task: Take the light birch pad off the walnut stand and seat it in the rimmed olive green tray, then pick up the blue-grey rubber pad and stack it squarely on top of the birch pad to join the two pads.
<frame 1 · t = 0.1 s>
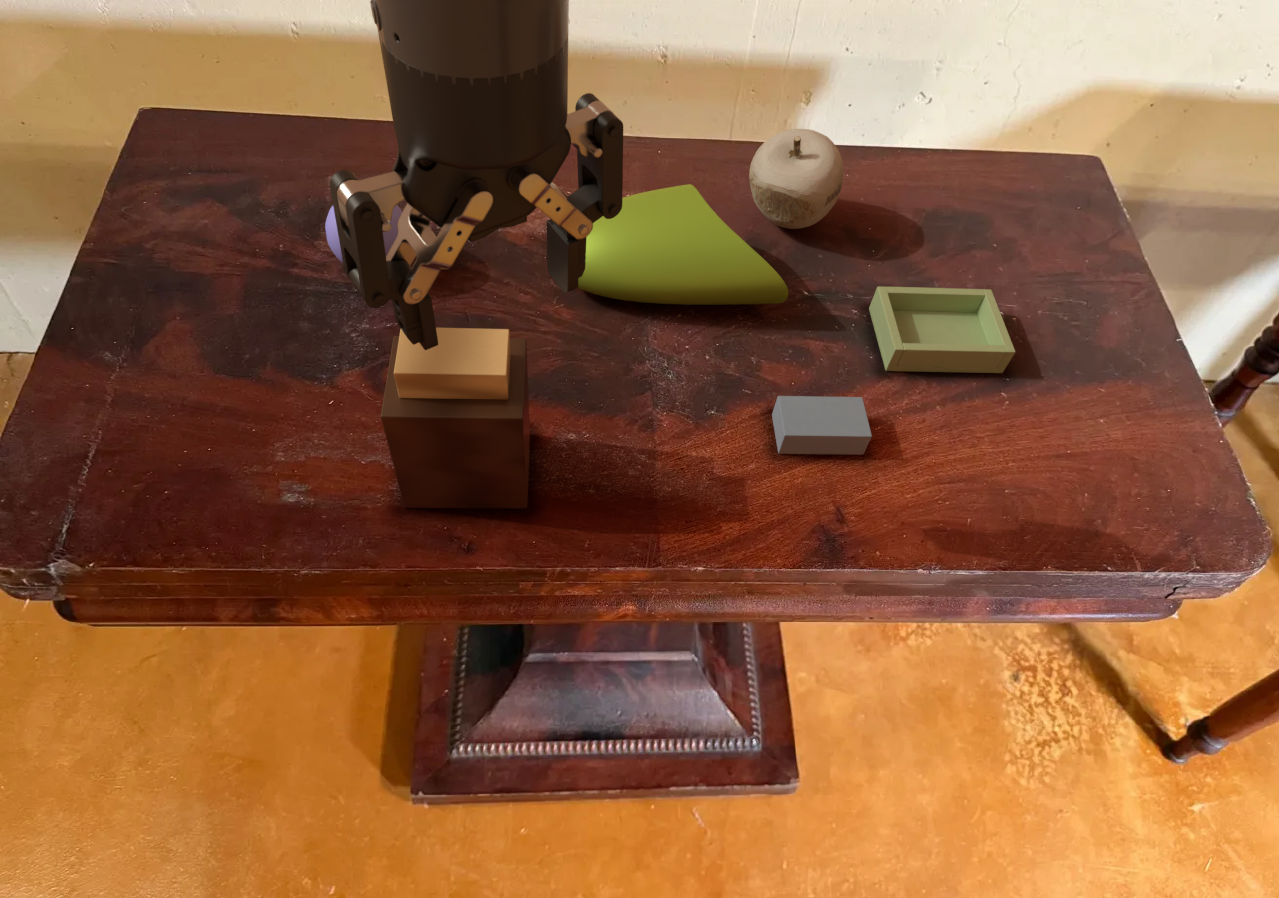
hand: (495, 308, 48), 21 cm above the table, tool pointing down, fingers open, 8 cm apart
olive green tray: (934, 340, 80), on the table
decorative object: (784, 221, 88), on the table
sphere: (374, 263, 80), on the table
rubber pad: (816, 434, 72), on the table
birch pad: (456, 375, 59), point 11 cm above the table, touching stand
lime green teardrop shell: (658, 283, 81), on the table
stand: (469, 469, 68), on the table
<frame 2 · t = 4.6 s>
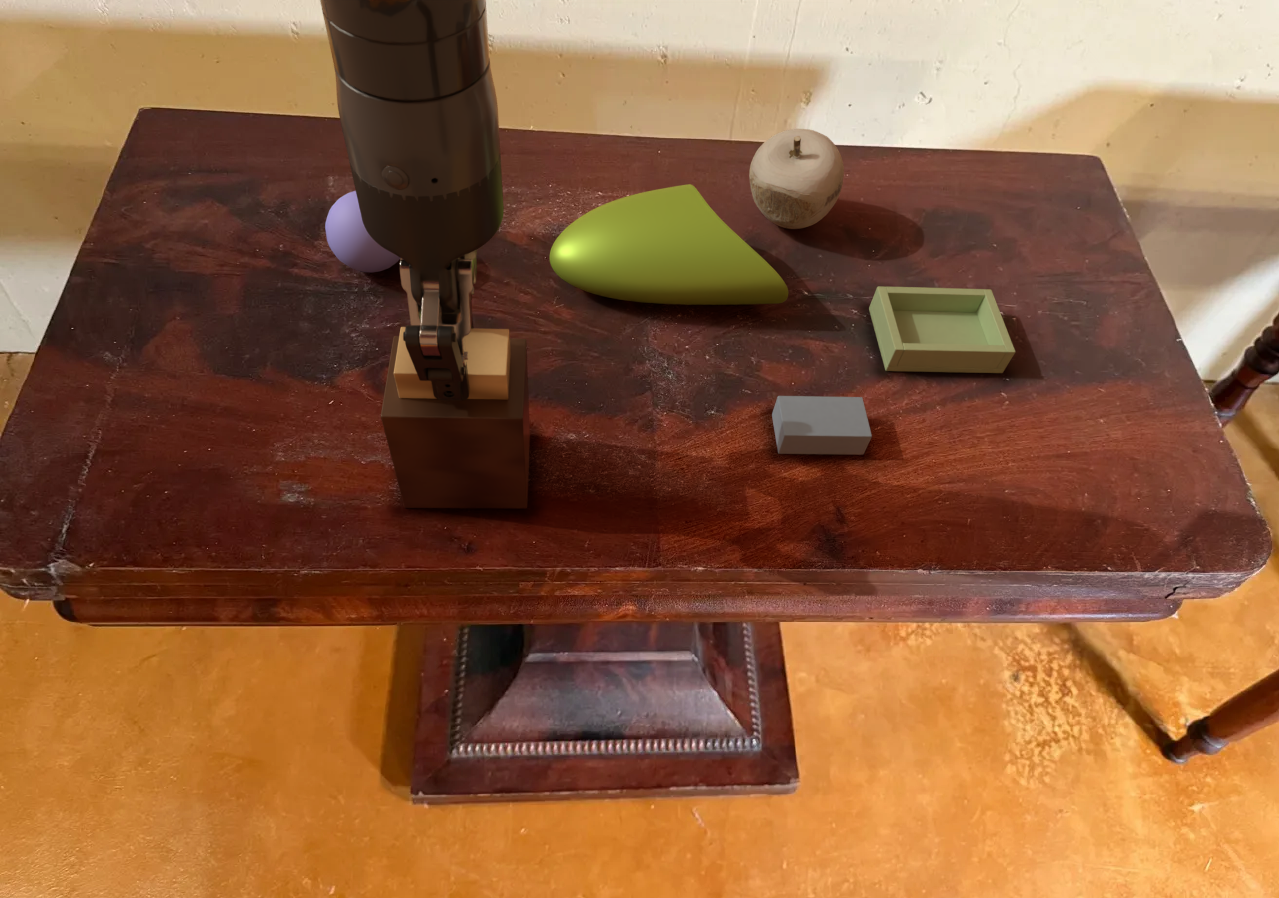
hand: (455, 367, 58), 12 cm above the table, tool pointing down, fingers closed on birch pad, 4 cm apart
birch pad: (456, 375, 59), point 11 cm above the table, touching gripper, stand
everything else where it was.
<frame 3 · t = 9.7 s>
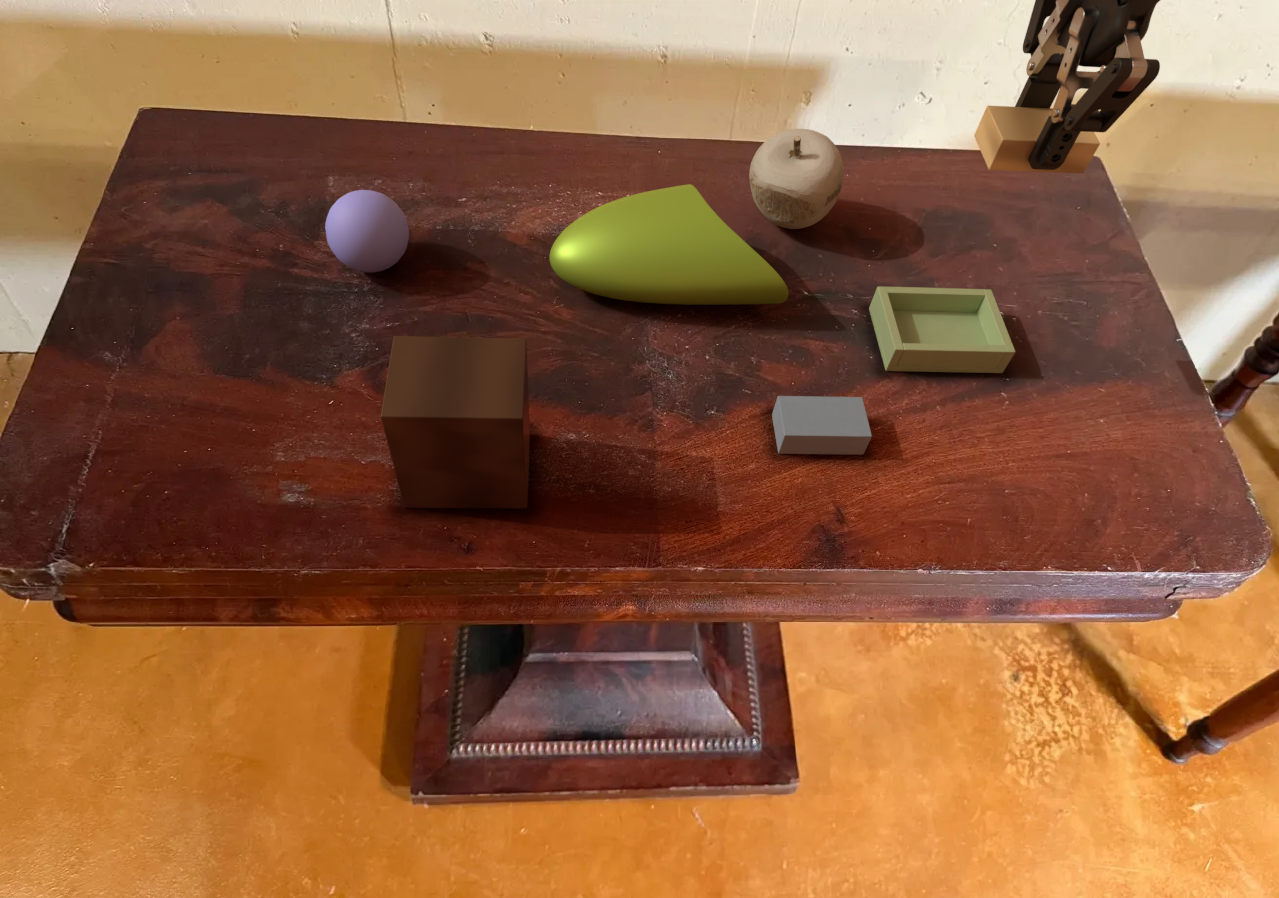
hand: (1032, 145, 63), 20 cm above the table, tool pointing down, fingers closed on birch pad, 4 cm apart
birch pad: (1027, 154, 64), point 20 cm above the table, touching gripper
everything else where it was.
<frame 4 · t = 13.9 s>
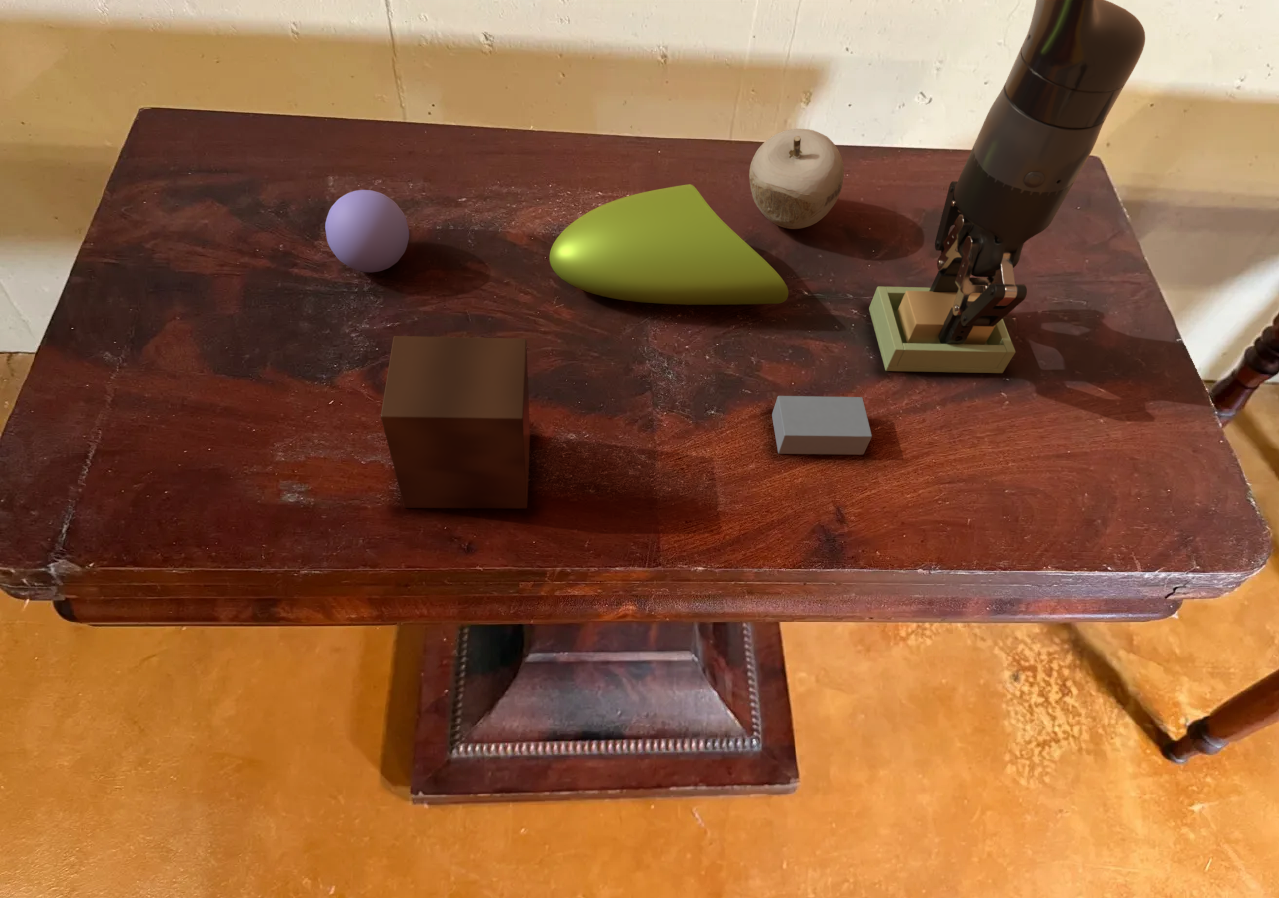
hand: (943, 321, 78), 2 cm above the table, tool pointing down, fingers closed on birch pad, 4 cm apart
birch pad: (940, 327, 78), point 2 cm above the table, touching gripper
everything else where it was.
when the fingers open (3 cm above the table, at t = 16.2 s): birch pad stays where it is, resting on olive green tray.
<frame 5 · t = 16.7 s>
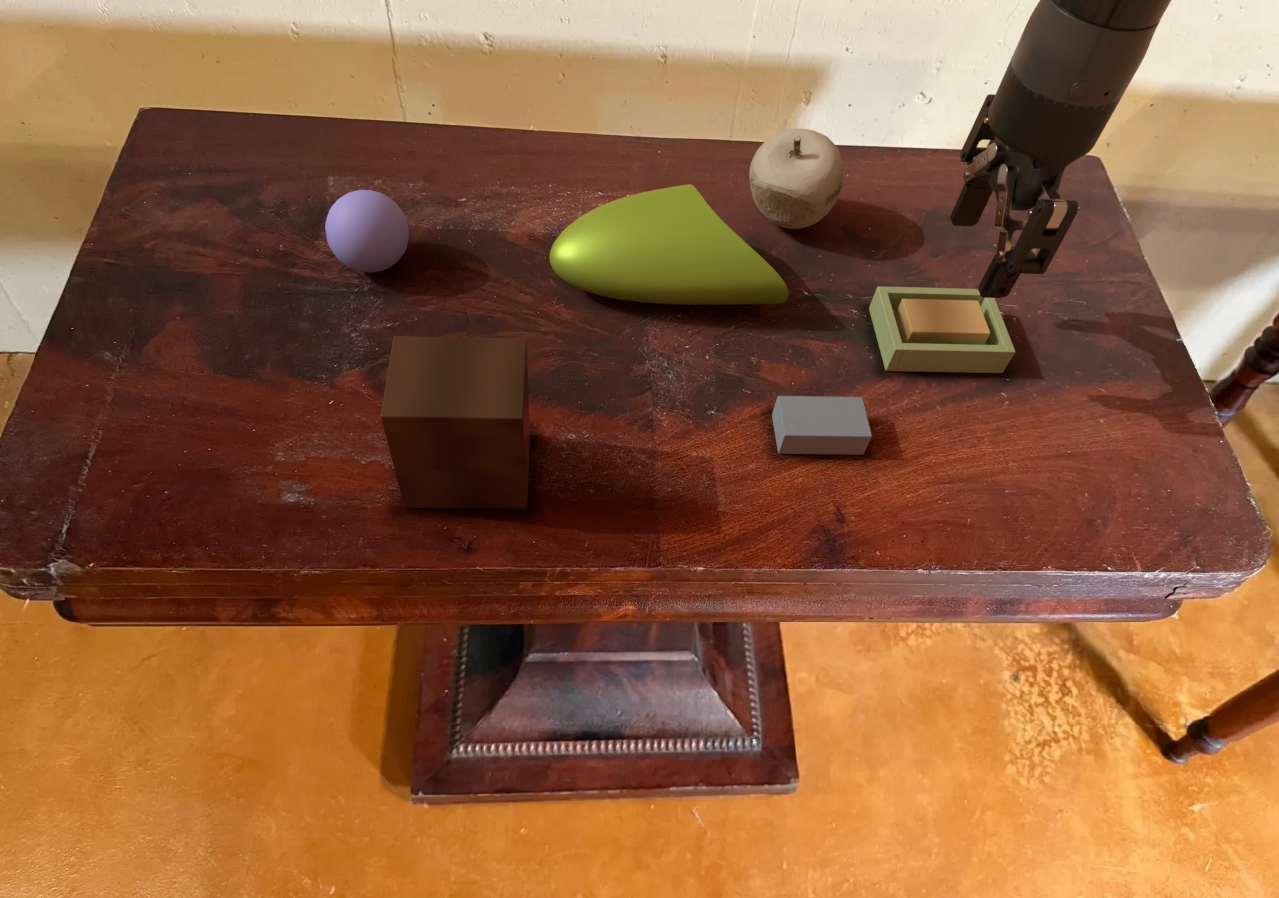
hand: (975, 257, 72), 10 cm above the table, tool pointing down, fingers open, 8 cm apart
birch pad: (935, 335, 79), point 1 cm above the table, touching olive green tray
everything else where it was.
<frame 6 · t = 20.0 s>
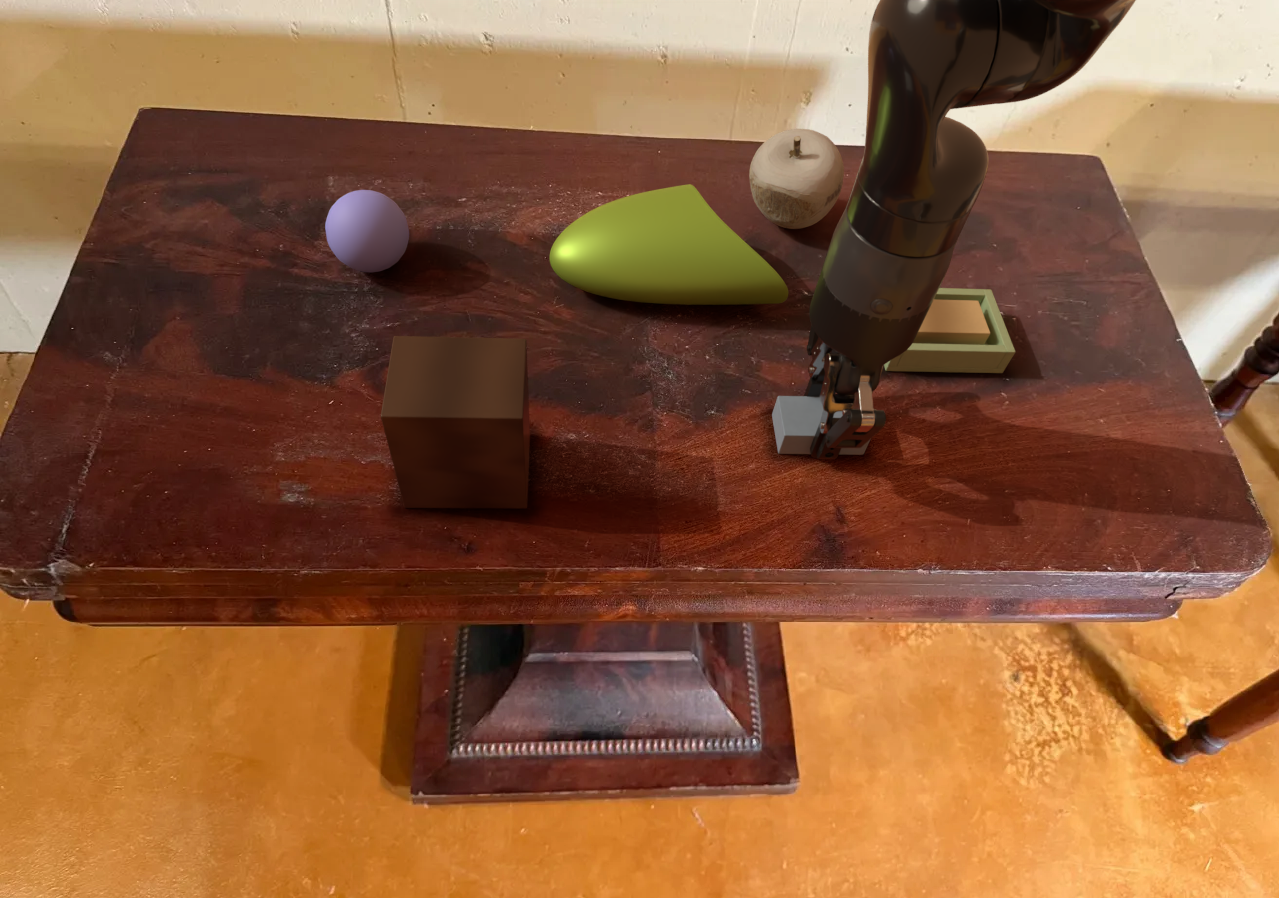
hand: (818, 430, 72), 0 cm above the table, tool pointing down, fingers closed on rubber pad, 4 cm apart
rubber pad: (816, 434, 72), on the table, touching gripper
everything else where it was.
when the fingers open (4 cm above the table, at t = 25.6 s): rubber pad stays where it is, resting on birch pad.
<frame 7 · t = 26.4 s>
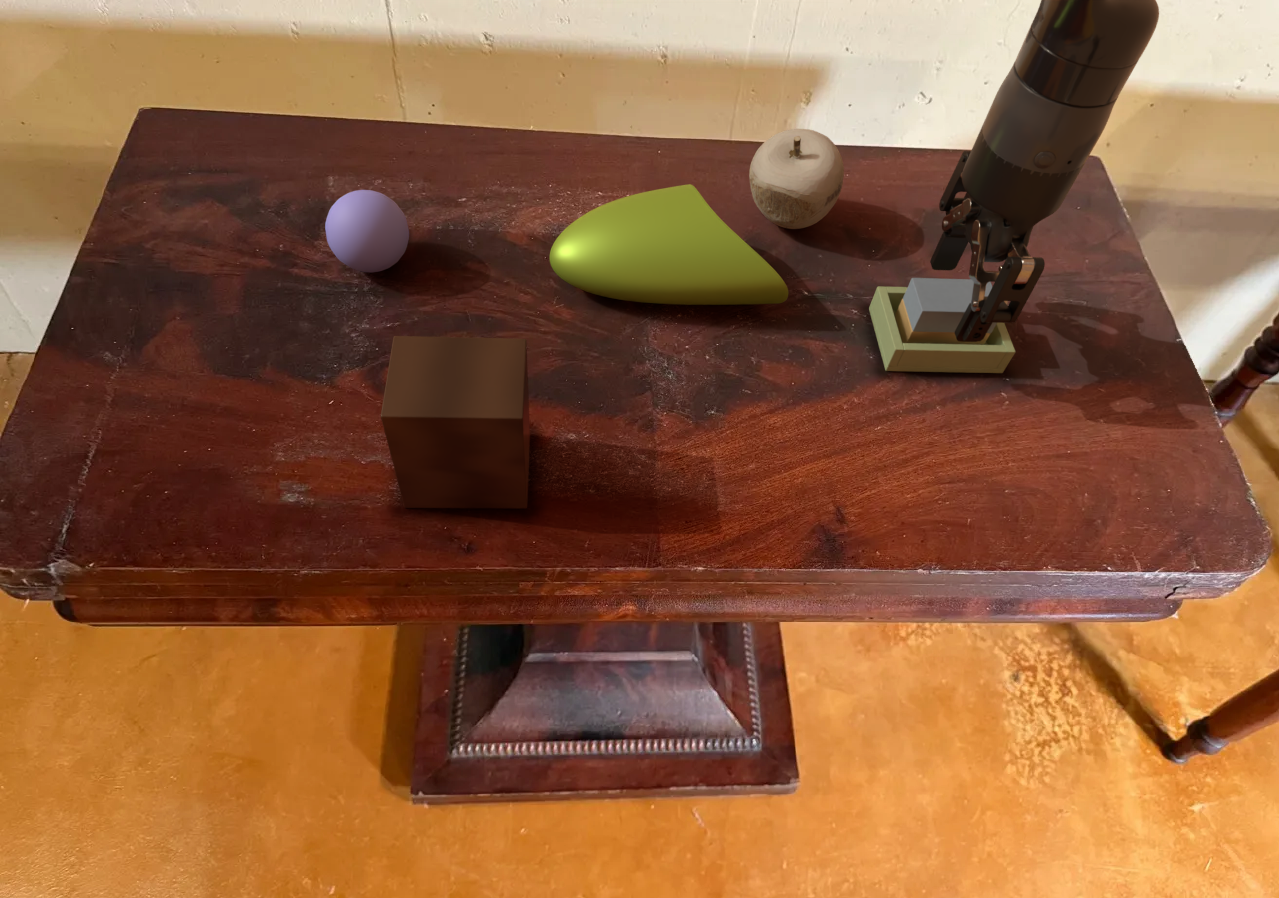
hand: (953, 301, 76), 5 cm above the table, tool pointing down, fingers open, 8 cm apart
rubber pad: (946, 315, 77), point 3 cm above the table, touching birch pad
birch pad: (935, 335, 79), point 1 cm above the table, touching olive green tray, rubber pad
everything else where it was.
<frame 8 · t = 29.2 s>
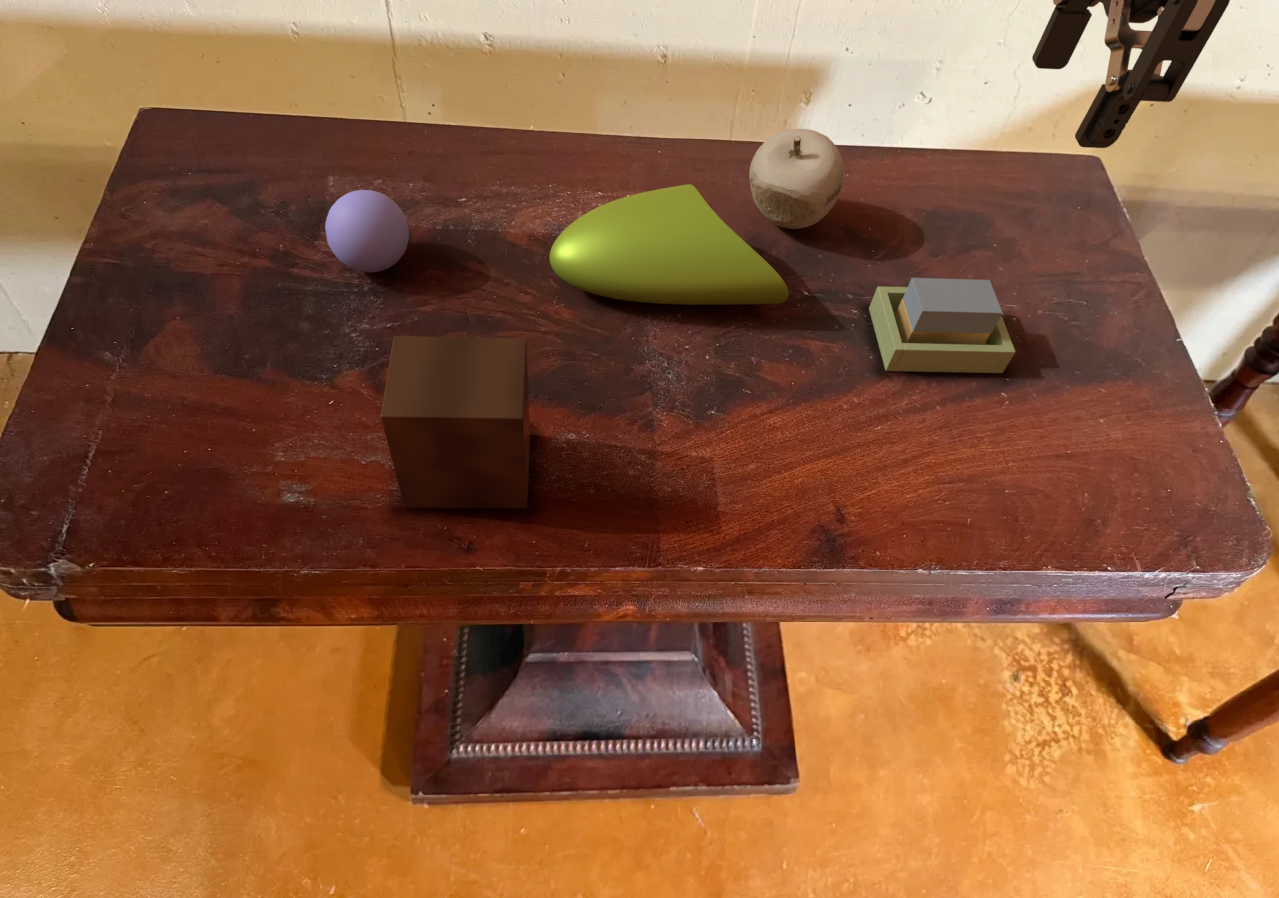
hand: (1068, 103, 56), 26 cm above the table, tool pointing down, fingers open, 8 cm apart
nothing on the table moved.
at the end: birch pad 0.0 cm off-centre in the olive green tray, point 0.6 cm above the olive green tray's base; rubber pad 0.0 cm off-centre on the birch pad, point 2.5 cm above the birch pad's base; rubber pad tilted 0° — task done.
